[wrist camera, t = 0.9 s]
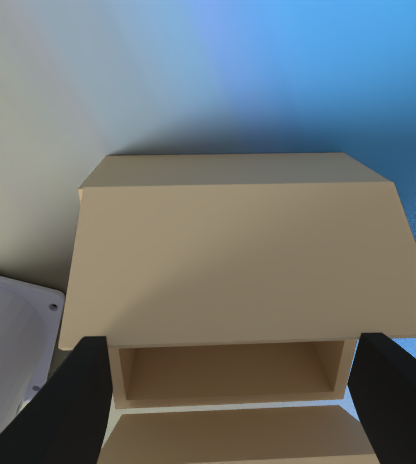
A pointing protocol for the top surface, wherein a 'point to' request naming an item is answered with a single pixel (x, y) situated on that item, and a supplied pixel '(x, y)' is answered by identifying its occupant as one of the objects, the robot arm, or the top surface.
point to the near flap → (240, 265)
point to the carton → (233, 355)
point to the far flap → (240, 437)
